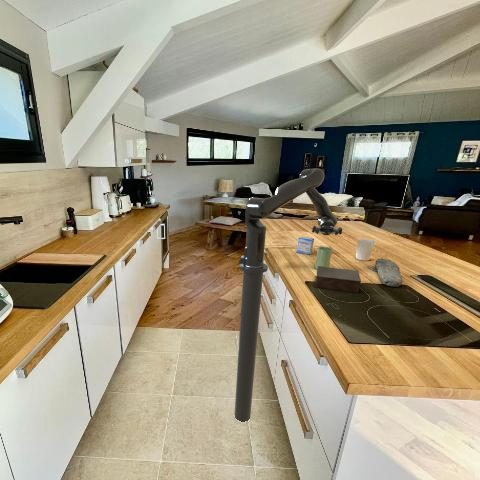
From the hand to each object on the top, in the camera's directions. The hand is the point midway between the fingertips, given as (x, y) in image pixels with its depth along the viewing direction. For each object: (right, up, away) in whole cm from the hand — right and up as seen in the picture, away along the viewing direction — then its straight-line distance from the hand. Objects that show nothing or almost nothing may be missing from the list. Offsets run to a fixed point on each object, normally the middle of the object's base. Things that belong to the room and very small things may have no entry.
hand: (326, 232), depth 156 cm
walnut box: (-7, -26, -24) cm, 36 cm away
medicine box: (-3, -8, +23) cm, 24 cm away
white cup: (+24, -12, +11) cm, 29 cm away
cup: (-4, -18, -4) cm, 19 cm away
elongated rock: (+22, -22, -13) cm, 34 cm away
